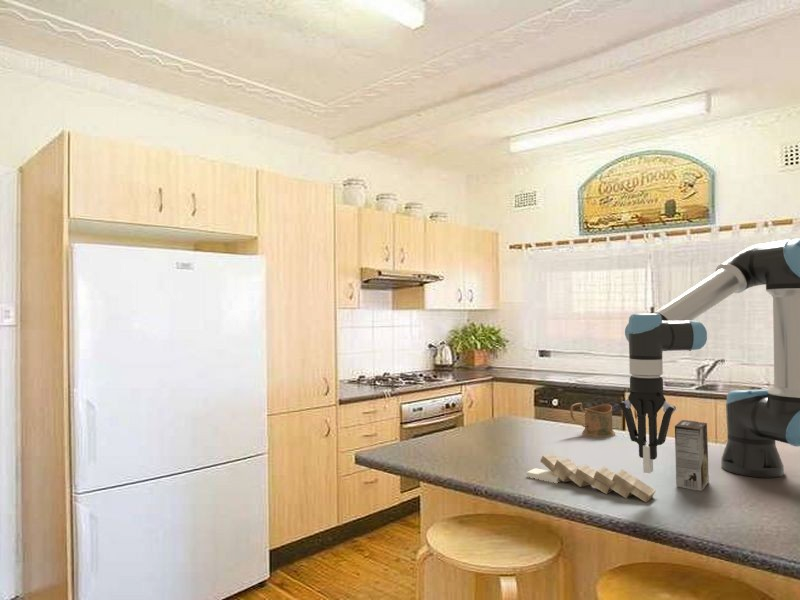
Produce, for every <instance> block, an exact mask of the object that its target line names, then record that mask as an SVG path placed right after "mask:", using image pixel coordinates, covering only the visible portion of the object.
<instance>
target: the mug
mask: <svg viewBox="0 0 800 600" xmlns="http://www.w3.org/2000/svg"><path fill="white" fill-rule="evenodd" d="M575 406H579V408H580V411H581V412H583V413H584V424H583V423H582V422H580V421H577V420H576V419H575V417H574V414H573V413H574V407H575ZM569 408H570V412H569V413H570V418H571V420H572V421H573V422H575V423H578V424H580V425H581V426H582V427H583V428H584V429H583V430H582V434H583V435H585V436H586V437H593V438H613V437H615V436H616V432H614V430H613V407H612V405H611V404H600V405H596V406H593V407H585V408H583V403H582V402H577V403H574V404H572V405H570V407H569Z"/></svg>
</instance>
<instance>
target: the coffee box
mask: <svg viewBox="0 0 800 600" xmlns="http://www.w3.org/2000/svg"><path fill="white" fill-rule="evenodd" d="M708 443H709V442H708V423H707V422H701V421H700V422H699V421H695V420H688V419H687V420H685V419H682V420H680V421H679V422H678V423H677V424H675V425H674V447H675V449H674V450H675V454H674V455H675V486H676V487H678V488H684V489H688V490H694V491H698V492H703V490H704V489H706V488H705V487H706V486H707V484H708V483H709V482H710V480H709V479H710V476H709V450H708V448H709V445H708Z"/></svg>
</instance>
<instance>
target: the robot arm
mask: <svg viewBox="0 0 800 600" xmlns="http://www.w3.org/2000/svg"><path fill="white" fill-rule="evenodd" d="M763 285H764V286H765V291H766V292H767V293H768V294H770V295H771V296H772V308H773V309H772V313H773V314H772V315H773V316H772V317H773V319H772V320H773V322H772V323H773V324H772V326H773V327H772V328H773V329H772V330H773V379H774V380H773V386H772V387H771V388H770V389H735V390H730V391H728V393H727V394H726V403H725V407H726V410H725V411H726V428H727V429H726V430H727V431H726V432H727V441H726V444H725V448H724V449H723V453H722V456H721V459H720V460H721V462H720V463H721V465H720V466H721V468H722V469H723V470H725V471H727V472H729V473H733V474H737V475H739V476H740V475H741V476H746V477H755V478H768V479H771V478H779V477H783V476H784V475H785V473H784V472H785V467H784V463H783V460H782V459H781V455H780V454H779V451H778V448H777V445H776V442H781V443H785V444H787V445H790V446H793V447H800V238H799V237H798V238H789V239H784V240H777V241H771V242H762V243H757V244H754V245H751V246H749V247H747V248H745V249H743V250H741V251H740V252H738V253H736V254H734V255H733V256H731V257H729V258H727V259H726V260H725V261H723V262H722V263H720V264H719V265H718V266H716V268H715V272H713V273H711V274H710V275H708V276H707V277H706V278H704V279H703V280H701V281H700V282H697V283H696V284H695V285H694V286H692V287H690V288H689V289H687V290H686V291H684V292H682V293H681V294H680V295H678V296H677V297H675V298H673V299H672V300H670V301H669V302H668V303H666V304H664V305H662V306H661V307H660V308H659V309H657V310H655V311H653V312H652V313H632V314H630V316H629V317H628V323H627V324H626V326H625V328H624V335H625V339H626V340H627V342H628V352H629V353H628V355H629V359H628V360H629V362H628V363H629V364H628V365H629V374H630V377H629V394H628V397H627V399H625V400H624V401H621V402H619V404H618V405H619V407H620V409H621V410H622V412H623V415H624V419H625V423H626V426H627V427H626V428H627V430H628V434H629V438H630V439H629V440H630V441H631V442H635V443H636V444H638V456H639V458H641V459H642V460H643V461H642V464H643V467H642V468H643V469H642V470H643V473H645V474H651V473H652V472H654V460H656V459H657V457H658V446H661V445H663V444H664V443H665V442H666V440H667V436H668V435H667V434H668V431H669V426H670V423H671V418H672V415H673V413H674V412H676V410H677V409H676V408H677V407H676V406H675V405H671V404H669V402H666V397H665V396H664V378H663V377H662V375H663V373H664V371H663V370H664V369H663V352H670V351H671V352H673V351H676V352H677V351H678V352H679V351H680V352H681V351H689V352H691V351H694V350H695V351H696V350H700V349H702V348H703V347H705V345H706V343H707V342H708V331H707V328H706V327H705V325H704V324H703V323H702V322H700V321H698V320H696V318H698V317H699V316H701V315H703V314H704V313H706V312H708V311H709V310H710V309H712V308H713V307H715V306H716V305H718V304H719V303H721V302H722V301H724V300H726V299H727V298H728V297H730V296H731V295H733V294H740V293H743V292H744V291H746V290H747V289H749V288H753V287H757V286H758V287H759V286H763ZM632 407H633V408H634V410H635V411H636V417H637V426H636V421H635V418H634V414H633V411H632ZM662 408H663V409H662ZM661 409H662V410H663V412H664V413H663V415H662V419H661V424H660V427H659V432H658V422H657V420H658V419H657V417H658V413H659V411H660V410H661ZM646 417H647V418H646ZM646 419H648V440H647V420H646ZM647 442H648V443H647Z"/></svg>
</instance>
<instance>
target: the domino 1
mask: <svg viewBox="0 0 800 600" xmlns="http://www.w3.org/2000/svg"><path fill="white" fill-rule="evenodd" d="M526 477H527V478H529V477H530V479H533V478H535V480H538V479H539V480H540V481H543V480H544V482H548V481H549V482H548V483H553V482H554V484H558V482H559V483H560V482H563V481H562V480H561V479H560V478H559V477H558V476H556V475H555V474H554V473H553V472H552V471H551V470H547V469H541V468H537V467H534V468H533V469H531V470H528V471H526ZM539 480H538V481H539Z"/></svg>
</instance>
